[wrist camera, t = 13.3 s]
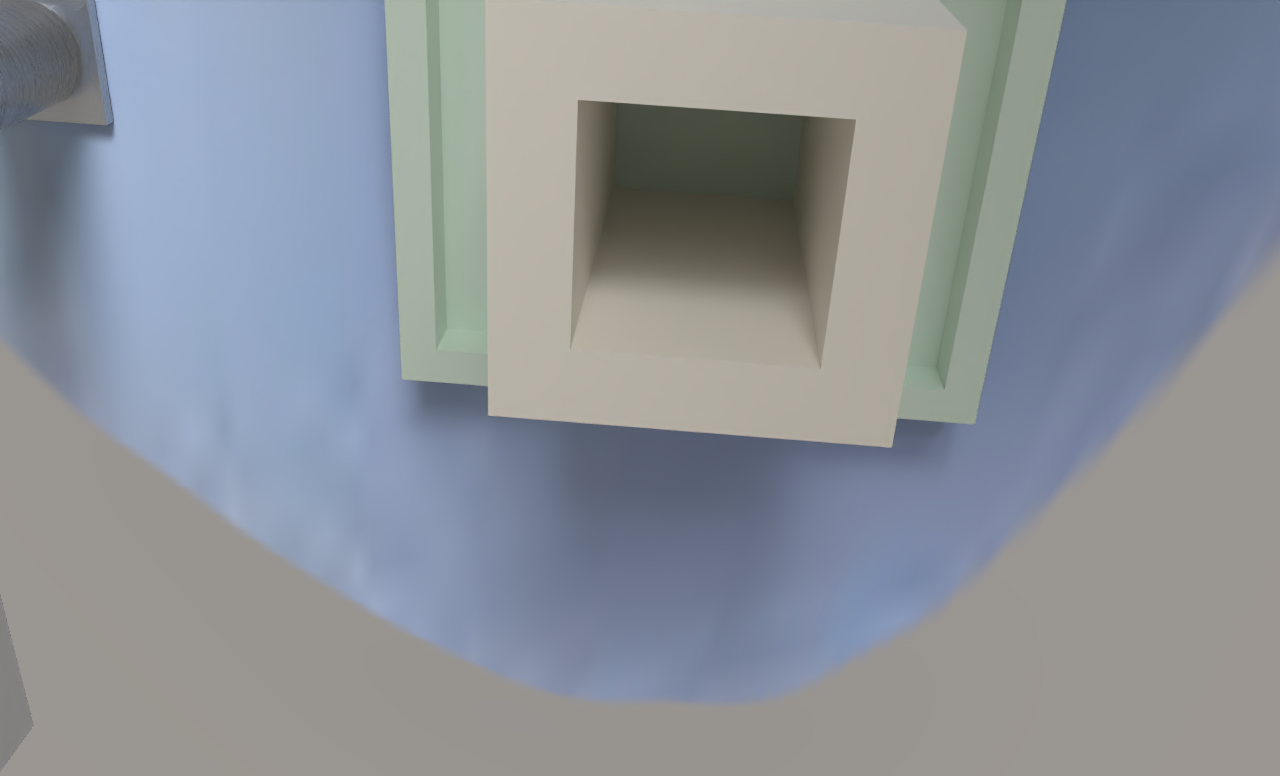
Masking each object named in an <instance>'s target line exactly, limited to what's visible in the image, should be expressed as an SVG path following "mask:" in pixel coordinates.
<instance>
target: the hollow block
mask: <svg viewBox="0 0 1280 776" xmlns="http://www.w3.org/2000/svg"><path fill="white" fill-rule="evenodd" d="M966 35H967V29H966V28H965V27H964V26H963V25H962V24H961V23H960V22H959V21H958V20H957V19H956V18H955V17H954V16H953V15H952V14H951V13H950V12H949V11H948V9H947V8H946V7H945V6H944V5H943V4H942V3H941V2H940V1H939V0H485V40H486V188H487V337H488V416H500V417H512V418H525V419H538V420H550V421H563V422H575V423H588V424H600V425H613V426H626V427H638V428H651V429H663V430H676V431H688V432H701V433H714V434H726V435H739V436H751V437H764V438H776V439H789V440H802V441H814V442H827V443H839V444H852V445H864V446H877V447H889V448H892V444H893V439H894V433H895V428H896V422H897V417H898V411H899V406H900V400H901V395H902V389H903V383H904V378H905V372H906V367H907V361H908V356H909V350H910V345H911V339H912V334H913V328H914V323H915V317H916V312H917V306H918V301H919V295H920V290H921V284H922V278H923V273H924V267H925V262H926V256H927V251H928V245H929V240H930V234H931V229H932V223H933V218H934V212H935V207H936V201H937V196H938V190H939V184H940V179H941V173H942V168H943V162H944V157H945V151H946V146H947V140H948V135H949V129H950V124H951V118H952V113H953V107H954V102H955V96H956V91H957V85H958V79H959V74H960V68H961V63H962V57H963V52H964V46H965V41H966ZM618 103H630V104H644V105H658V106H672V107H686V108H700V109H714V110H729V111H743V112H757V113H771V114H785V115H799V116H804V117H803V125H802V133H801V141H800V150H799V158H798V166H797V174H796V183H795V191H794V199H793V200H779V199H766V198H752V197H738V196H725V195H711V194H697V193H684V192H670V191H657V190H643V189H629V188H616V187H614V174H615V152H616V130H617V109H618Z"/></svg>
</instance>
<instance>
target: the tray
mask: <svg viewBox="0 0 1280 776" xmlns="http://www.w3.org/2000/svg"><path fill="white" fill-rule="evenodd" d="M384 1H385V23H386V45H387V67H388V89H389V111H390V133H391V155H392V177H393V199H394V221H395V243H396V265H397V287H398V309H399V331H400V353H401V375H402V379H403V380H416V381H428V382H441V383H454V384H466V385H479V386H488V337H487V188H486V40H485V0H384ZM939 1H940V2H941V3H942V4H943V5H944V6H945V7H946V8H947V9H948V11H949V12H950V13H951V14H952V15H953V16H954V17H955V18H956V19H957V20H958V21H959V22H960V23H961V24H962V25H963V26H964V27H965V28H966V29H967V35H966V41H965V46H964V52H963V57H962V63H961V68H960V74H959V79H958V85H957V91H956V96H955V102H954V107H953V113H952V118H951V124H950V129H949V135H948V140H947V146H946V151H945V157H944V162H943V168H942V173H941V179H940V184H939V190H938V196H937V201H936V207H935V212H934V218H933V223H932V229H931V234H930V240H929V245H928V251H927V256H926V262H925V267H924V273H923V278H922V284H921V290H920V295H919V301H918V306H917V312H916V317H915V323H914V328H913V334H912V339H911V345H910V350H909V356H908V361H907V367H906V372H905V378H904V383H903V389H902V395H901V400H900V406H899V411H898V417H897V418H898V419H911V420H923V421H936V422H949V423H961V424H974V425H975V421H976V416H977V411H978V407H979V402H980V398H981V393H982V388H983V384H984V379H985V374H986V370H987V365H988V361H989V356H990V351H991V347H992V342H993V338H994V333H995V328H996V324H997V319H998V315H999V310H1000V305H1001V301H1002V296H1003V292H1004V287H1005V282H1006V278H1007V273H1008V269H1009V264H1010V259H1011V255H1012V250H1013V245H1014V241H1015V236H1016V232H1017V227H1018V222H1019V218H1020V213H1021V209H1022V204H1023V199H1024V195H1025V190H1026V186H1027V181H1028V176H1029V172H1030V167H1031V163H1032V158H1033V153H1034V149H1035V144H1036V139H1037V135H1038V130H1039V126H1040V121H1041V116H1042V112H1043V107H1044V103H1045V98H1046V93H1047V89H1048V84H1049V80H1050V75H1051V70H1052V66H1053V61H1054V57H1055V52H1056V47H1057V43H1058V38H1059V34H1060V29H1061V24H1062V20H1063V15H1064V10H1065V6H1066V1H1067V0H939ZM803 117H804V116H799V115H785V114H771V113H757V112H743V111H729V110H714V109H700V108H686V107H672V106H658V105H644V104H630V103H618V109H617V130H616V152H615V174H614V187H616V188H629V189H643V190H657V191H670V192H684V193H697V194H711V195H725V196H738V197H752V198H766V199H779V200H793V199H794V191H795V183H796V174H797V166H798V158H799V150H800V141H801V133H802V125H803Z"/></svg>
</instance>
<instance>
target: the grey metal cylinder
mask: <svg viewBox="0 0 1280 776" xmlns="http://www.w3.org/2000/svg"><path fill="white" fill-rule="evenodd" d="M23 120H39V121H53V122H67V123H80V124H94V125H108V124H110V123H112V122H113V116H112V110H111V103H110V97H109V90H108V84H107V78H106V71H105V65H104V59H103V52H102V46H101V40H100V33H99V27H98V20H97V14H96V8H95V1H94V0H0V131H2V130H4V129H6V128H8V127H10V126H12V125H15V124H17V123H19V122H21V121H23Z"/></svg>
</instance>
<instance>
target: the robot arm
mask: <svg viewBox="0 0 1280 776" xmlns="http://www.w3.org/2000/svg"><path fill="white" fill-rule="evenodd" d="M33 726H34V725H33V721H32V717H31V713H30V709H29V705H28V701H27V698H26V693H25V690H24V686H23V682H22V678H21V674H20V670H19V666H18V662H17V658H16V655H15V650H14V646H13V643H12V639H11V635H10V631H9V627H8V624H7V619H6V616H5V612H4V607H3V603H2V599H1V596H0V771H1V770H2V769H3V767H4V766H5V764H6V763H7V762H8V760H9V759H10V757H11V756H12V755H13V753H14V752H15V750H16V749H17V748H18V747H19V745H20V744H21V742H22V741H23V740H24V738H25V737H26V735H27V734H28V733H29V731H30V730H31V729H32V727H33Z"/></svg>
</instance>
